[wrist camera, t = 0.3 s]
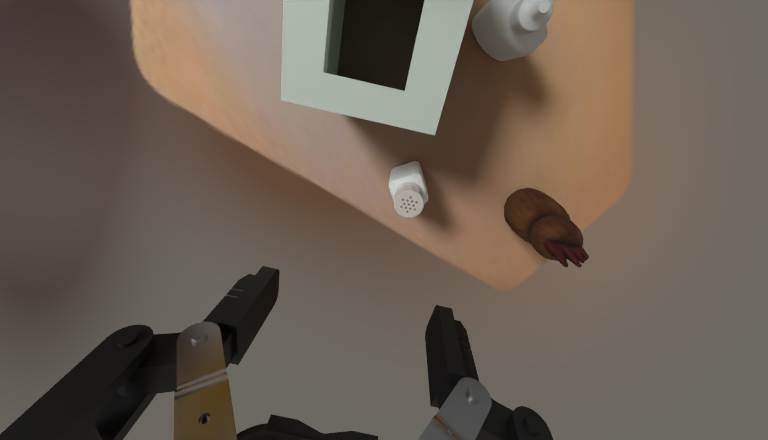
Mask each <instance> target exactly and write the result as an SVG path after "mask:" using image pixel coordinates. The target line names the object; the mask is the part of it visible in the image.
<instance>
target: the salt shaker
mask: <svg viewBox="0 0 768 440" xmlns="http://www.w3.org/2000/svg"><path fill="white" fill-rule="evenodd" d="M389 189H390V192H391V195H392V198H393V200H394V208H395V210H396V211H397V213H398V214H399V215H401V216H403V217H405V218H410V217H415V216H417V215H418V214H420V213H421V211H422V209H423V208H424V204H425V203H426V202H427V201H428V198H429V197H428V192H427V187H426V182H425V179H424V176H423V173H422V169H421V166H420V163H419V162H418V161H412V162H409V163H406V164H403V165H400V166H397V167H394V168H393V169H392V170H391V174H390V179H389Z"/></svg>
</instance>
